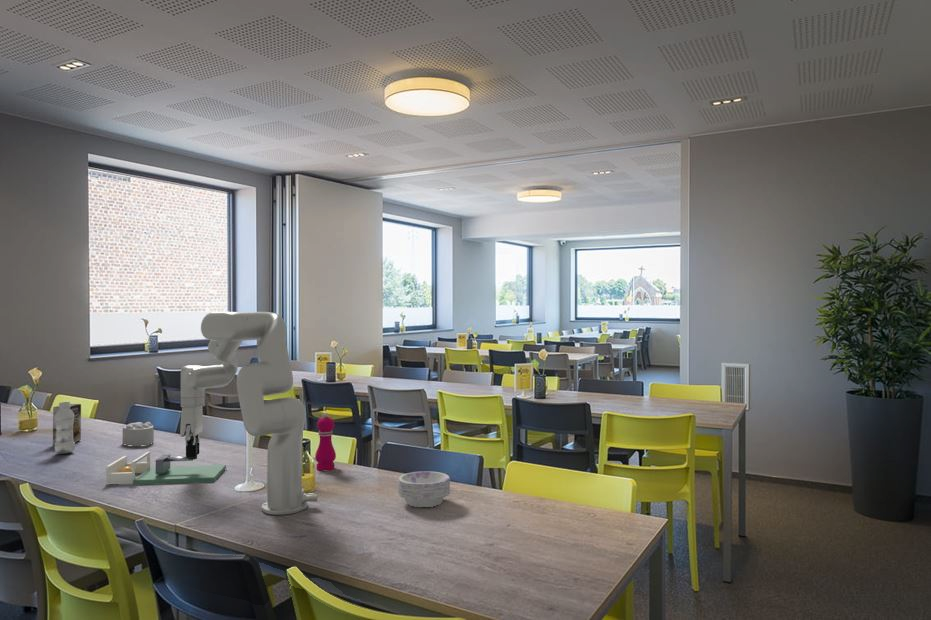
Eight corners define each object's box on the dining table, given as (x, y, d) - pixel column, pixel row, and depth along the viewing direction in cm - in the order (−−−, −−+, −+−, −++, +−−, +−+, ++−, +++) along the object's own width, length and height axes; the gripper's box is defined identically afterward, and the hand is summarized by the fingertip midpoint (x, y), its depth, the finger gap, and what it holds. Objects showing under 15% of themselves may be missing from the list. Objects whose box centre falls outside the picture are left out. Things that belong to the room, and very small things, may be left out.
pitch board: (225, 469, 215) (225, 464, 215) (213, 481, 200) (213, 477, 200) (151, 471, 212) (151, 467, 212) (132, 484, 196) (132, 480, 196)
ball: (137, 474, 205) (133, 463, 205) (132, 477, 201) (128, 466, 201) (125, 478, 205) (121, 467, 205) (120, 481, 201) (116, 470, 201)
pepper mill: (330, 472, 212) (330, 415, 212) (311, 470, 214) (311, 414, 214) (339, 466, 219) (339, 411, 219) (320, 465, 221) (320, 410, 221)
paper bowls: (426, 492, 189) (426, 467, 189) (460, 503, 178) (460, 476, 178) (387, 503, 179) (387, 476, 179) (421, 516, 168) (421, 487, 168)
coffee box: (67, 446, 250) (67, 407, 250) (52, 446, 250) (52, 407, 250) (81, 441, 259) (81, 403, 259) (66, 441, 259) (66, 403, 259)
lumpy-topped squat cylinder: (144, 439, 263) (144, 419, 263) (159, 443, 256) (159, 423, 256) (119, 443, 255) (119, 423, 255) (134, 448, 247) (134, 427, 247)
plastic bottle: (78, 453, 238) (78, 402, 238) (59, 456, 233) (59, 404, 233) (70, 450, 242) (70, 400, 242) (51, 454, 236) (51, 403, 236)
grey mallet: (199, 467, 210) (200, 435, 210) (193, 473, 203) (194, 440, 203) (162, 468, 208) (163, 436, 208) (155, 474, 201) (155, 441, 201)
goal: (150, 472, 211) (150, 451, 211) (134, 483, 197) (134, 461, 197) (124, 473, 210) (124, 452, 209) (106, 484, 196) (106, 462, 196)
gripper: (188, 398, 214) (188, 450, 214) (173, 405, 197) (173, 462, 198) (210, 398, 215) (210, 449, 215) (197, 405, 199) (197, 461, 199)
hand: (192, 455), depth 206 cm, fingers closed on grey mallet, 2 cm apart
